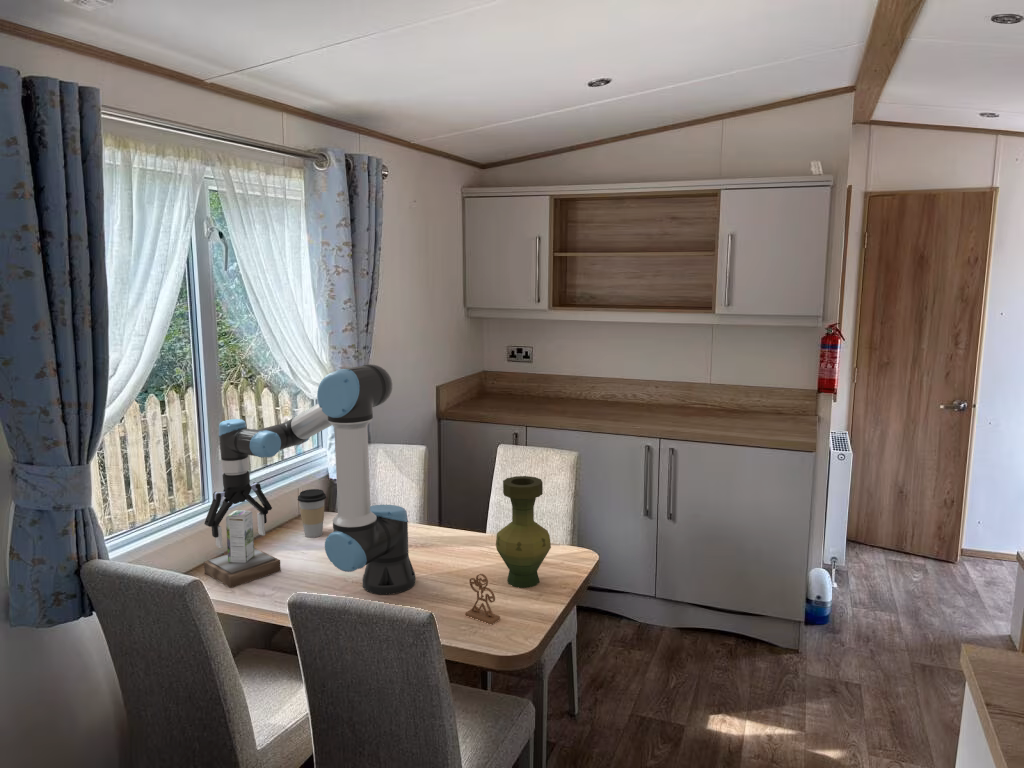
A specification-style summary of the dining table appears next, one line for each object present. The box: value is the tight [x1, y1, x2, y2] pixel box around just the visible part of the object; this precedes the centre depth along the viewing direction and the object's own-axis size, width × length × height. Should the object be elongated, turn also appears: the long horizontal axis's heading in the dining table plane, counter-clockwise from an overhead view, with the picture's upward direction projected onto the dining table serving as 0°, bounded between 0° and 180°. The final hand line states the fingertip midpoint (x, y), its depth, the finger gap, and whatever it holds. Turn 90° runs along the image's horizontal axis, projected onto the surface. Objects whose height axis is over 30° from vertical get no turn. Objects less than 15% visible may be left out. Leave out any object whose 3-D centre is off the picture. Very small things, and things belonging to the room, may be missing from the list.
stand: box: [203, 547, 282, 589], centre depth 229 cm, size 16×16×4 cm
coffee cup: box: [297, 488, 327, 539], centre depth 258 cm, size 9×9×15 cm
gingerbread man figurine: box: [464, 573, 501, 625], centre depth 198 cm, size 9×4×12 cm, turn 54°
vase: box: [495, 475, 552, 589], centre depth 218 cm, size 16×16×30 cm
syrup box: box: [225, 509, 255, 563], centre depth 227 cm, size 6×6×14 cm
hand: (241, 540), depth 227 cm, fingers open, 13 cm apart
